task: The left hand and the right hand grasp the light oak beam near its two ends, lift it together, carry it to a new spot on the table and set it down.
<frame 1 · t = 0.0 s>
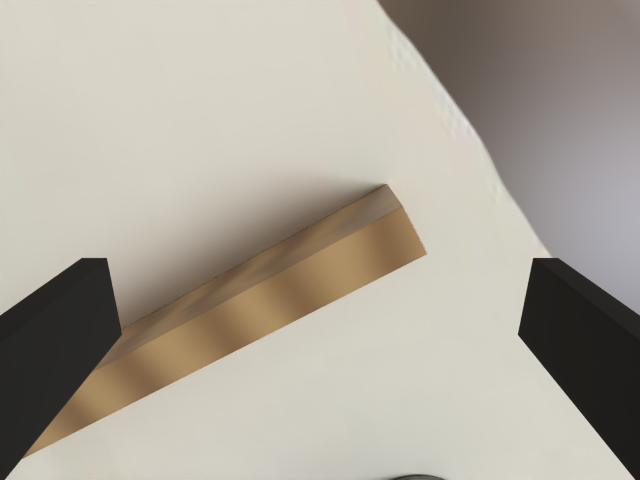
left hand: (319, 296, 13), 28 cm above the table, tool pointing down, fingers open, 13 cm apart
beam: (166, 327, 46), on the table
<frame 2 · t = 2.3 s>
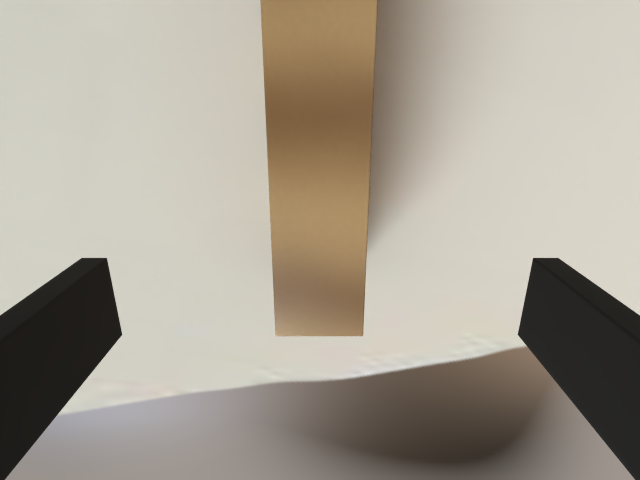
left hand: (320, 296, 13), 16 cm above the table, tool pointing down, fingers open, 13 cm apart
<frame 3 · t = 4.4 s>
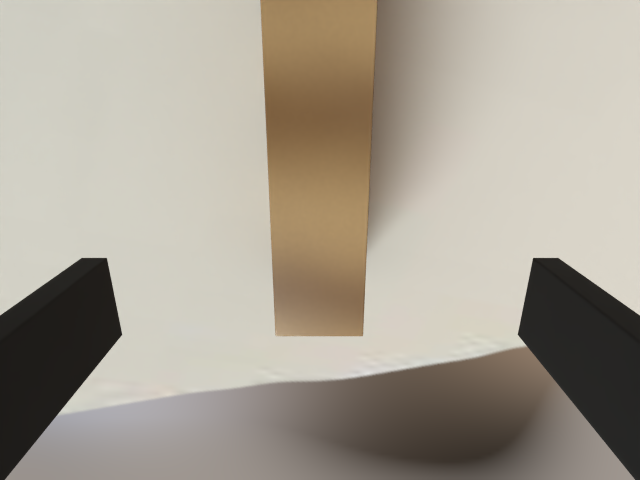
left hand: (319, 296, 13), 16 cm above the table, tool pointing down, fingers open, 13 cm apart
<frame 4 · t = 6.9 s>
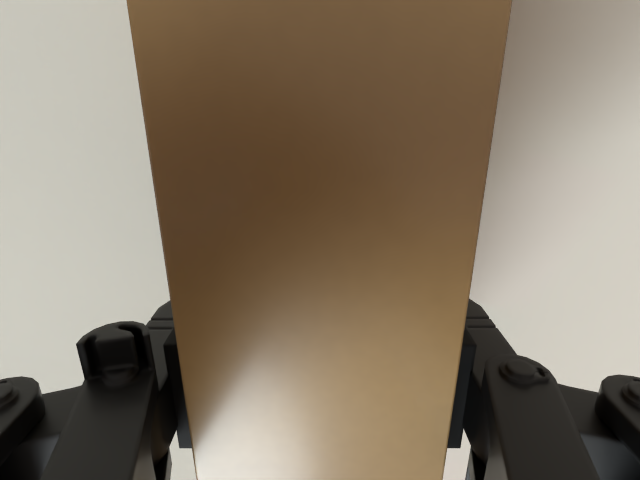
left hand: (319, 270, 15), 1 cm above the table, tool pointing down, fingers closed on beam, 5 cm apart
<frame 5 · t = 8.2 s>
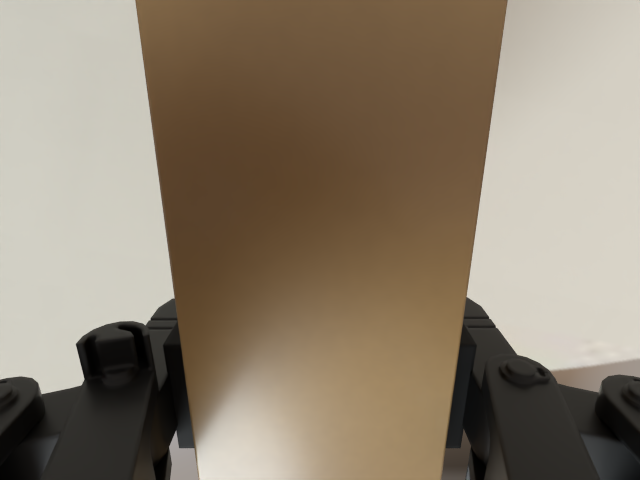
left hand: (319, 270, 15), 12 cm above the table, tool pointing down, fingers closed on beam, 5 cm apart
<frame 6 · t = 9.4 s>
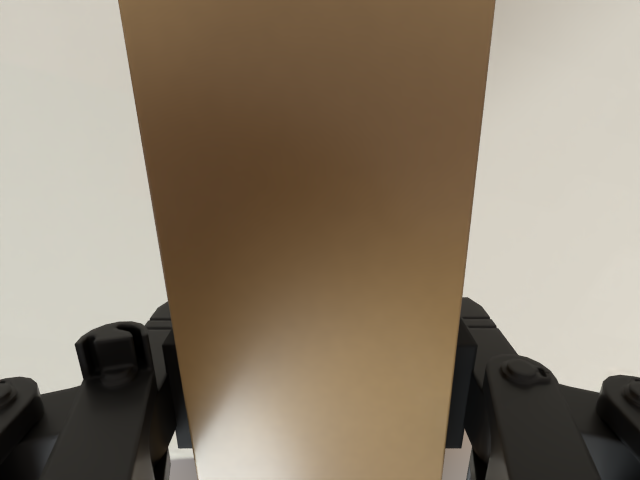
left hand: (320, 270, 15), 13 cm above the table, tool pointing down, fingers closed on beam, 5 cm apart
when the left hand's fingers open (2 cm above the table, at t = 12.0 s): beam drops 2 cm, on the table.
when the right hand's fingers open (5 cm above the table, at t = 12.2 s): beam stays where it is, on the table.
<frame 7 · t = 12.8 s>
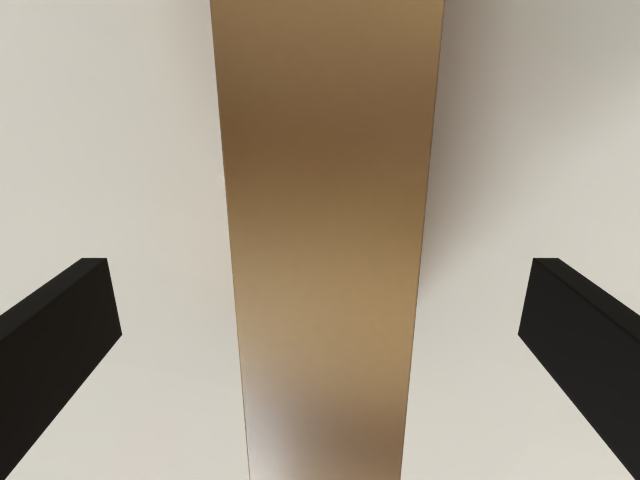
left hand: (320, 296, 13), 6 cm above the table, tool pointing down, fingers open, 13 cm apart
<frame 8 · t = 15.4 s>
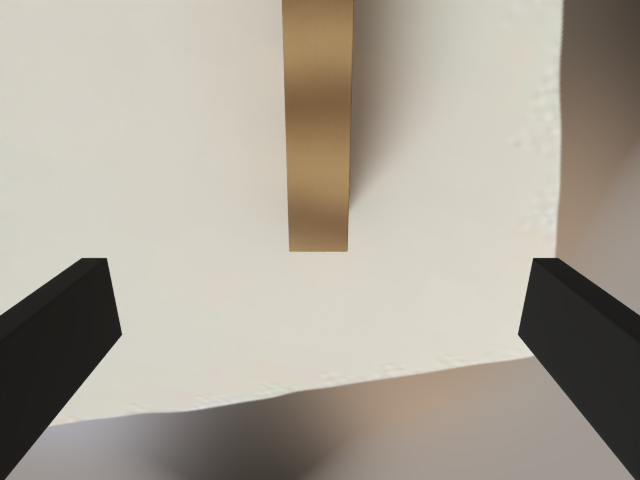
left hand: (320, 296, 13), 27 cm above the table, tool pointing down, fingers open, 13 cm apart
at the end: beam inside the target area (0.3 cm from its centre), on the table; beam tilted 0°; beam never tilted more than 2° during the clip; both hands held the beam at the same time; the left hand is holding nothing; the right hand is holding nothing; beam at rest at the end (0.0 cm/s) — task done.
